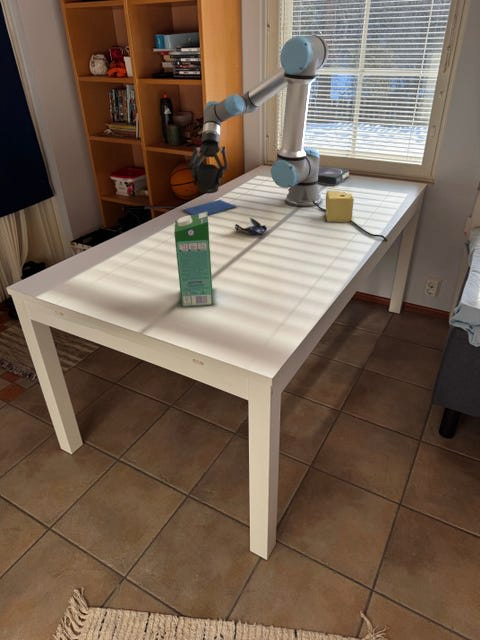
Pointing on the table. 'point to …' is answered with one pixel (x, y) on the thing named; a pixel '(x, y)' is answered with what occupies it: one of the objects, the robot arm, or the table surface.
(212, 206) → the blue cloth
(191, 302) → the milk carton
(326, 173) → the portable cd player
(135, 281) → the table surface
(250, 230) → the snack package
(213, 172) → the pen holder
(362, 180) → the table surface
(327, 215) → the cheese
